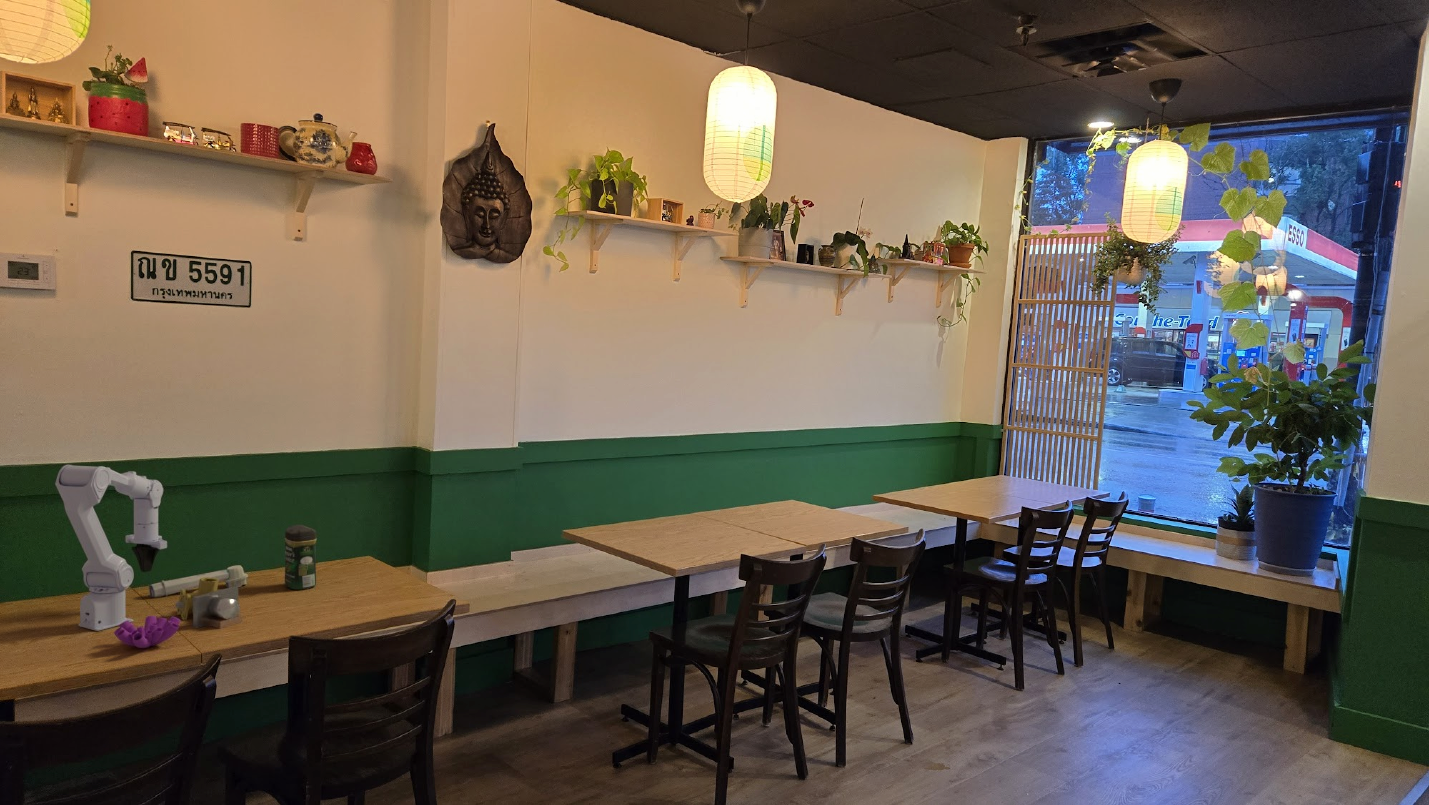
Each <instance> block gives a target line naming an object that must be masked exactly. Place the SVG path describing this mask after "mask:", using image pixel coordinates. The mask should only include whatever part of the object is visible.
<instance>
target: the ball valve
mask: <svg viewBox="0 0 1429 805" xmlns="http://www.w3.org/2000/svg"><path fill="white" fill-rule="evenodd" d="M218 586H219V580H218V579H217V578H212V577H203V578H200V581H199V586H198V587H197V590H194V591H192V592H191V594H189V593H187V592H186V591H187V590H185V589H181V592H179V599H178V601H176V602H175V603H174V608H175V609H176V615H177V616H181V620H182V621H187V619H188V616H189V615H188V614H189V611H190V612H192V613H193V597H195V596H199V595H203V594H207V593H210V592H214V591H218V588H219V587H218Z"/></svg>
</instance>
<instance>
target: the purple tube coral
mask: <svg viewBox="0 0 1429 805" xmlns="http://www.w3.org/2000/svg"><path fill="white" fill-rule="evenodd" d="M181 620H182V619H180V618H178V617H175V616H171V617H170V618H169V619H167V618H165V617H157V616H156V615H148V616H146V617H145V620H144V626H143V625H141V626H138V627H135V625H134V624H133V623H132V622H129V621H128V620H127V621H125V622H123V623H121V624H120V625H118V626H119V627H118V628H117V629H115V630H114V632H113V633H114V635H115V637H116V638H117V639H118V640H119V641H120V642H122V643H123V644H126V645H128V646H133V647H137V648H138V649H147V648H149V647H153V646H155V645H158V644H161V643H163V642H164V641H167V640H169V639H170V638H171V637H173V636H174V635H175V634H176V633H177V631H178V630H179V628H180V626H179V624H181Z"/></svg>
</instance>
